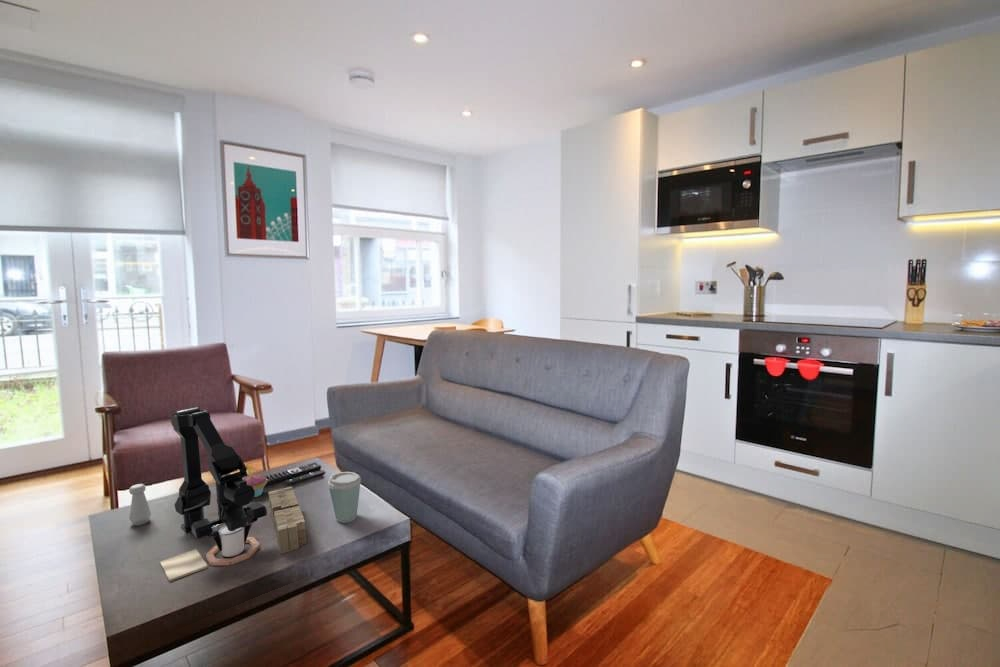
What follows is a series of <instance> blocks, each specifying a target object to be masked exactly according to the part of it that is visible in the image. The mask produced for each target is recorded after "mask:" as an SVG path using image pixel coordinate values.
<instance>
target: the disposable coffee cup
mask: <svg viewBox="0 0 1000 667" xmlns="http://www.w3.org/2000/svg"><path fill="white" fill-rule="evenodd" d="M328 478H329V479H328V480H327V487H328V488H329V494H330V498H331V501H332V506H333V507H332V508H333V512H334V515H335V519H336V521H337V522H339V523H340V524H341V523H343V524H346V523H351V522H353V521H355V520H356V518H357V516H358V508H359V499H360V489H361V488H360V487H361V482H362V479H361V478H362V477H361V475H359V474H358V473H356V472H352V471H339V472H336V473H333V474H332V475H330V476H329V477H328Z"/></svg>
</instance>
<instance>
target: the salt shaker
mask: <svg viewBox="0 0 1000 667" xmlns="http://www.w3.org/2000/svg"><path fill="white" fill-rule="evenodd" d="M145 491H146V485H145V484H144V483H138V484H133V485H132V486H130V487H129V488H128V492H129V494H130V495H132V496H131V501H130V502H131V503H130V509H129V510H130V512H129V517H128V518H129V521H130V522H131V523H132V525H133V526H135V527H136V526H138V527H139V526H143V525H145V524H147V523H148V522H149V521H150V518H151V516H152V512H151V509H150V506H149V503H148V499H147V497H146V495H145Z"/></svg>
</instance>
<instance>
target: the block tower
mask: <svg viewBox="0 0 1000 667" xmlns="http://www.w3.org/2000/svg"><path fill="white" fill-rule="evenodd" d="M295 494H296V493H295V492H294V489H293V486H287V487H285V488H279V489H277V490H271V491H268V499H269V510H270V512H269V513H270V518H271V520H272V524H273V529H274V531H275V536H276V542H277V545H278V549H279V554H283V553H287V552H290V551H289V550H291V551H294V549H295V550H298V549H299V547H300V546H303V545H302V544H304V545H307V544H306V543H308V542H307V533H306V532H307V531H306V521H305V518H304V515H303V513H302V510H301V507H300V504H299V502H298V499H297V497H296V495H295ZM299 545H300V546H299ZM297 548H298V549H297Z"/></svg>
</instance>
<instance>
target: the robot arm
mask: <svg viewBox="0 0 1000 667" xmlns="http://www.w3.org/2000/svg"><path fill="white" fill-rule="evenodd" d="M170 423H171V425H172V428H173V430H174V432H175V433H176V434H177V435H178V436H179V437H180V446H181V457H182V458H181V459H182V467H183V468H182V469H183V481H182V483H181V484H180V487H179V489H178V497H177V499H176V501H175V503H174V510H175V512H177V513H178V514H179V515H180V516H182V515H183V516H182V519H183V523H181V525H180V527H181V528H182V529H183V531H184V533H190V532H191V533H192V535H194V537H195V538H196V539H202V538H205V537H207V538H212V539H213V541H214V543H215V545H217V547H218V549H219V552H222V546H221V542H220V537H219V532H218V531H219V530H218V529H217V528H218V527H220V526H223V525H225V526H227V528H228V530H229V531H234V530H236V529H239V528H241V527H242V528H243V527H244V544H246V543H245V542H246V540H247V537H249V533H250V530H251V527H252V525H253V524H255V522H257V521H258V520H259V519H260V518H263V517H265V516H267V515H268V510H267V507H266V505H264V504H263V503H262V502H261V501H257V502H253V503H252V501H253V500H254V498H255V497H254V495H255V490H254V489H253V487H252V486H250V485H248V484H247V481H245V480H244V479H243V478H245V477H247V476H248V472H247V471H248V467H247V466H246V464H245V462H244V461H243V460H244V459H242V457H241V455H240V454H238V452H237V451H236V450H235V449H234V447H233V446H230V445H227V444H226V443H225V442H224V440H223V439H222V437H221V435H220V433H219V431H218V430H217V428H216V426H215V425H214V423H213V422H212V420H211V415H210V412H209V411H207V409H200V408H199V407H198V406H196V407H191V408H186V409H182V410H177V411H175V412H173V414H172V415H171V417H170ZM199 442H201V444H202V445H203V447H204V449H205V450H206V452H207V454H208V457H209V458H208V462H207V465H208V470H209V473H210V474H211V476H212V478H213V480H214V481H215V491H216V503H217V516H218V518H217V519H214V520H211V521H209V519H208V518H205V511H204V510H205V509H204V508H205V507H208V506H210V505H211V497H212V496H211V495H212V492H211V490H210V486H209V485H208V484H207V483H206V482H205V481H204V479H202V467H201V464H202V463H201V454H200V453H201V452H200V443H199Z"/></svg>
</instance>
